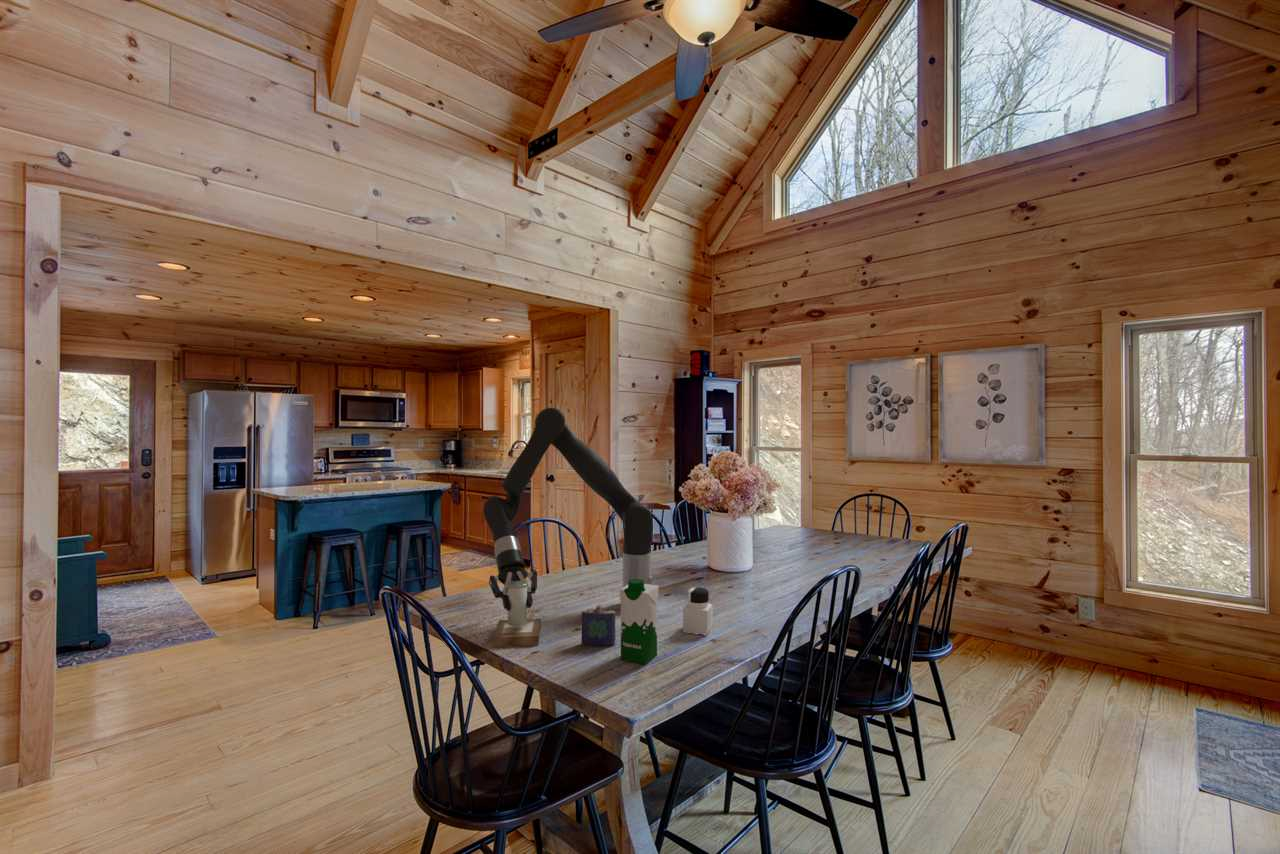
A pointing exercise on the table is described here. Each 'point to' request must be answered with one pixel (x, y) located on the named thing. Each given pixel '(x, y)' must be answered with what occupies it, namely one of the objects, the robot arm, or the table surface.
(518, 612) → the canister
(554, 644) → the table surface
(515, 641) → the pedestal
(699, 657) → the table surface
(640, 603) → the milk carton
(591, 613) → the flask
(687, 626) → the medicine bottle
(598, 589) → the table surface
